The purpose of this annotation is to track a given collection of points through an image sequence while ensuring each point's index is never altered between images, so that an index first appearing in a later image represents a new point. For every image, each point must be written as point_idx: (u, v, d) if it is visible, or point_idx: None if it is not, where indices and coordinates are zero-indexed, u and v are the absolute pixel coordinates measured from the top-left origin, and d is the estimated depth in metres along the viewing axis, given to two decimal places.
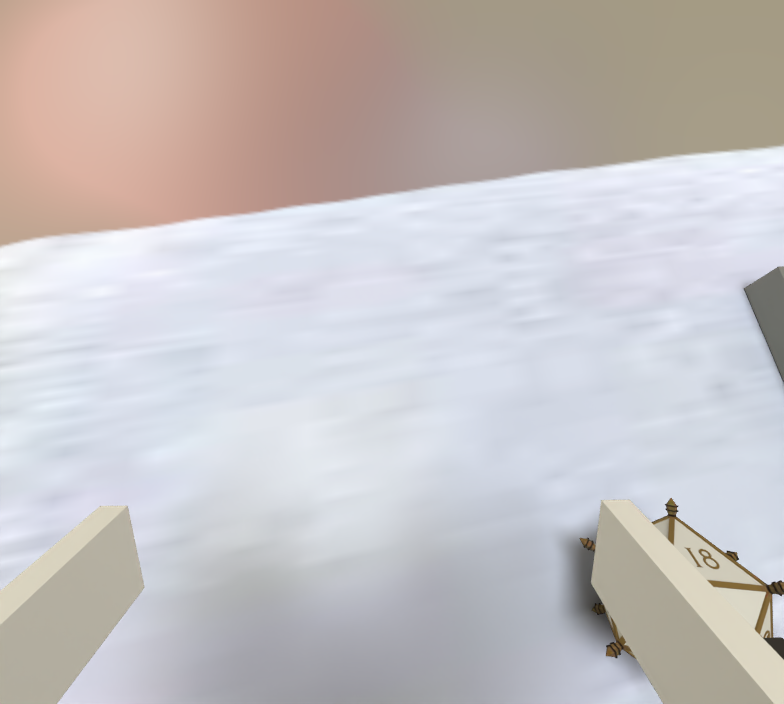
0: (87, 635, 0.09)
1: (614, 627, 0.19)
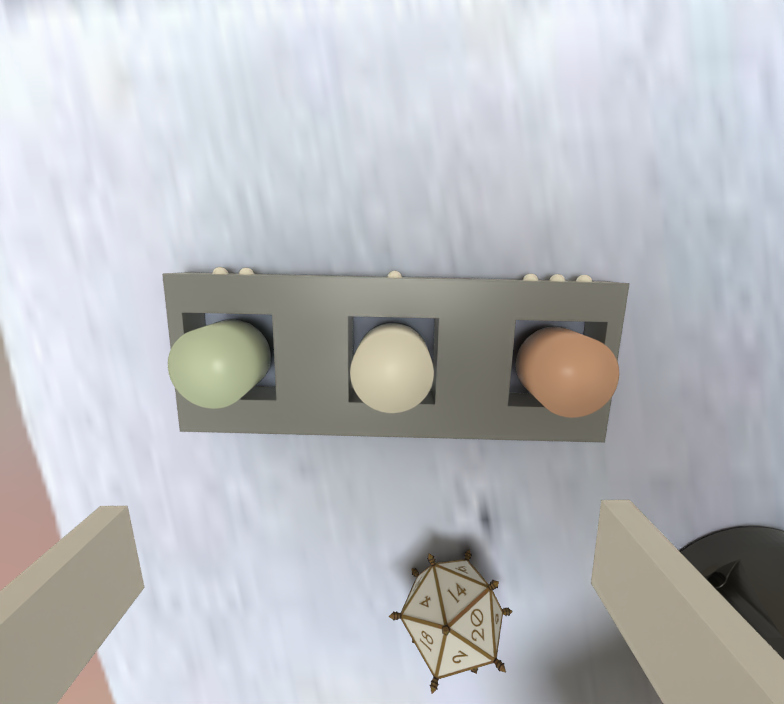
0: (87, 635, 0.09)
1: None
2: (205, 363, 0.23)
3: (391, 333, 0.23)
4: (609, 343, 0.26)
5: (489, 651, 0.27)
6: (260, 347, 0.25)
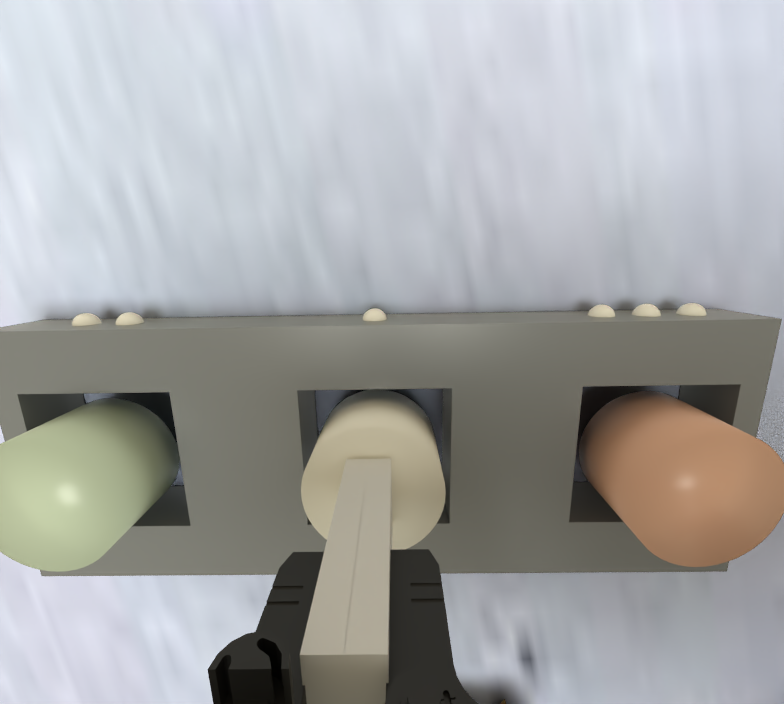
0: None
1: None
2: (34, 498, 0.13)
3: (368, 428, 0.13)
4: (741, 419, 0.15)
5: None
6: (149, 449, 0.15)
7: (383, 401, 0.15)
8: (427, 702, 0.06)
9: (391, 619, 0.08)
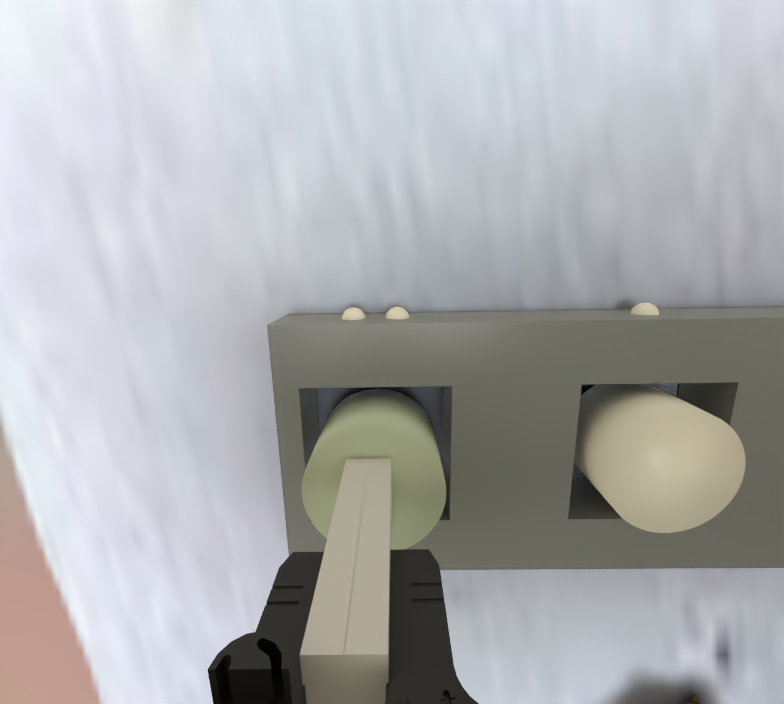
0: None
1: None
2: None
3: (683, 411, 0.14)
4: None
5: None
6: (434, 438, 0.15)
7: (650, 388, 0.16)
8: (427, 702, 0.06)
9: (391, 619, 0.08)
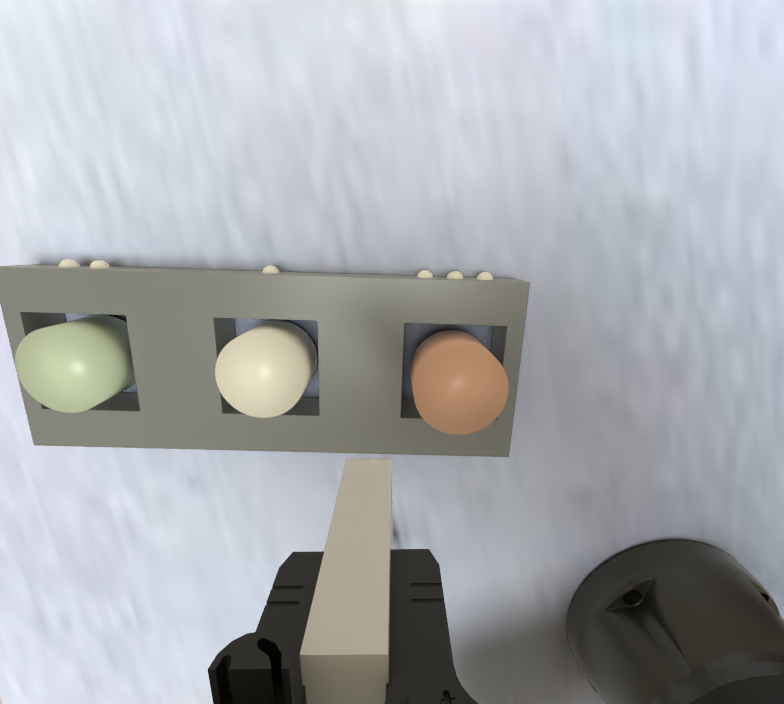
0: None
1: None
2: (56, 364, 0.22)
3: (256, 333, 0.21)
4: (509, 349, 0.23)
5: None
6: (128, 346, 0.24)
7: (276, 324, 0.23)
8: (427, 702, 0.06)
9: (391, 619, 0.08)
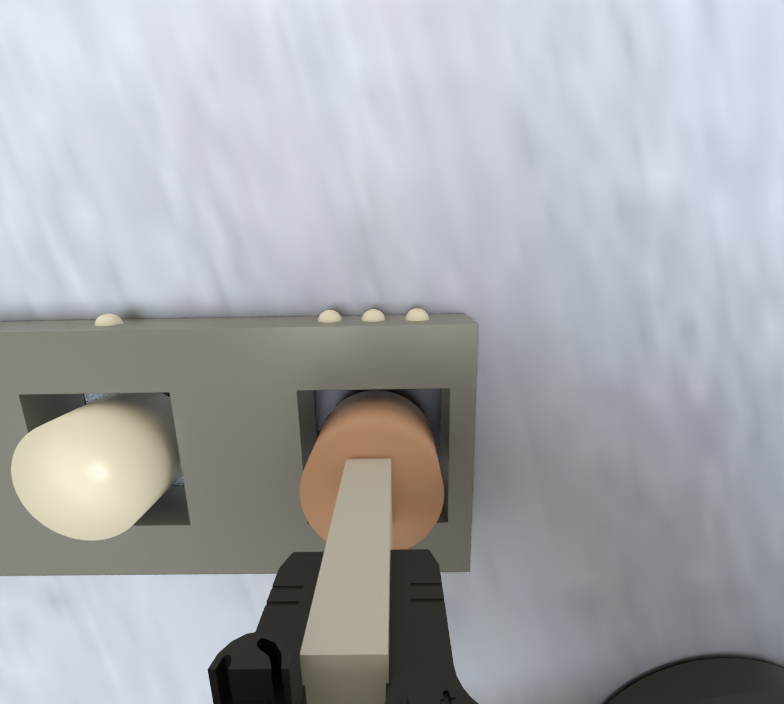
0: None
1: None
2: None
3: (63, 421, 0.14)
4: (457, 422, 0.15)
5: None
6: None
7: (121, 397, 0.16)
8: (427, 702, 0.06)
9: (391, 619, 0.08)
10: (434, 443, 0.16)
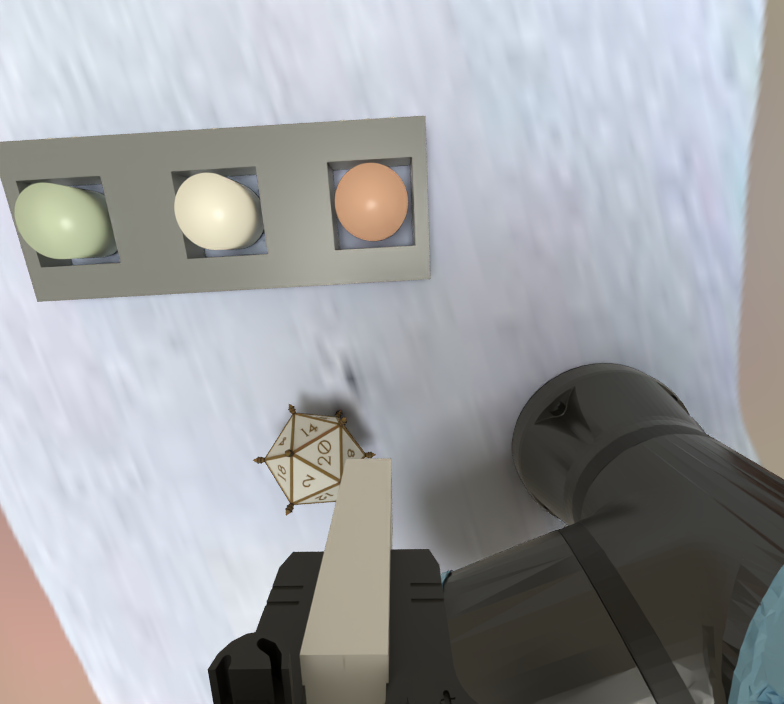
0: None
1: None
2: (47, 215, 0.27)
3: (203, 173, 0.26)
4: (417, 178, 0.28)
5: (335, 474, 0.29)
6: (105, 208, 0.29)
7: None
8: (427, 702, 0.06)
9: (391, 619, 0.08)
10: None
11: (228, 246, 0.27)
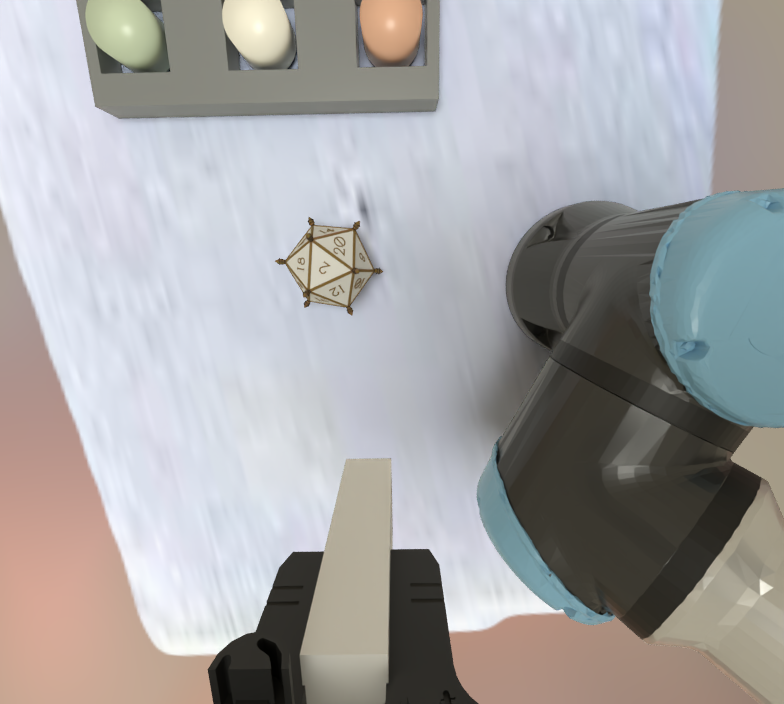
0: None
1: (341, 306, 0.37)
2: (113, 15, 0.31)
3: None
4: (431, 2, 0.32)
5: (348, 263, 0.33)
6: (160, 24, 0.33)
7: None
8: (427, 702, 0.06)
9: (391, 619, 0.08)
10: None
11: (266, 51, 0.32)
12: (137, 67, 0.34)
